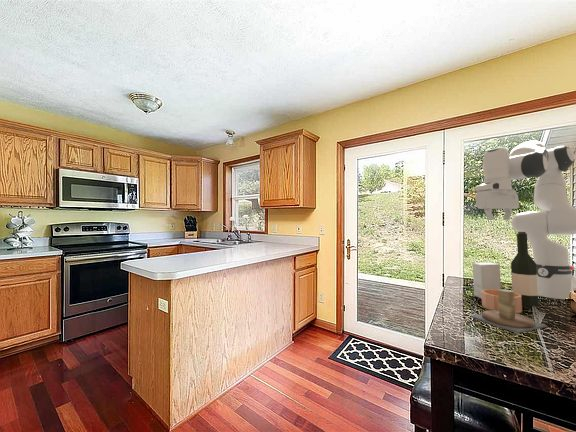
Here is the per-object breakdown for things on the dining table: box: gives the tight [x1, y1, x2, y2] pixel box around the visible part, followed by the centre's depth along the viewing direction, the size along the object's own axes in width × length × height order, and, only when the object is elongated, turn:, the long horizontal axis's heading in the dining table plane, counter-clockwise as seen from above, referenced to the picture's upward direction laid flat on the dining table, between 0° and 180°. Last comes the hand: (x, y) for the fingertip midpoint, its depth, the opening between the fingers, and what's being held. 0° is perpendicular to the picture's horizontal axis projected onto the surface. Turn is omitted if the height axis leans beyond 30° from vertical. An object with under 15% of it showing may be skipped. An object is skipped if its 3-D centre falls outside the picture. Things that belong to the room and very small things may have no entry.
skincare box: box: [472, 261, 502, 300], centre depth 114 cm, size 8×7×16 cm
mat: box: [471, 313, 548, 334], centre depth 86 cm, size 14×14×1 cm
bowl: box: [481, 289, 523, 314], centre depth 100 cm, size 12×12×6 cm
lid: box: [481, 288, 536, 328], centre depth 87 cm, size 14×14×10 cm
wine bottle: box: [510, 232, 539, 307], centre depth 106 cm, size 8×8×30 cm
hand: (498, 219), depth 104 cm, fingers open, 8 cm apart
